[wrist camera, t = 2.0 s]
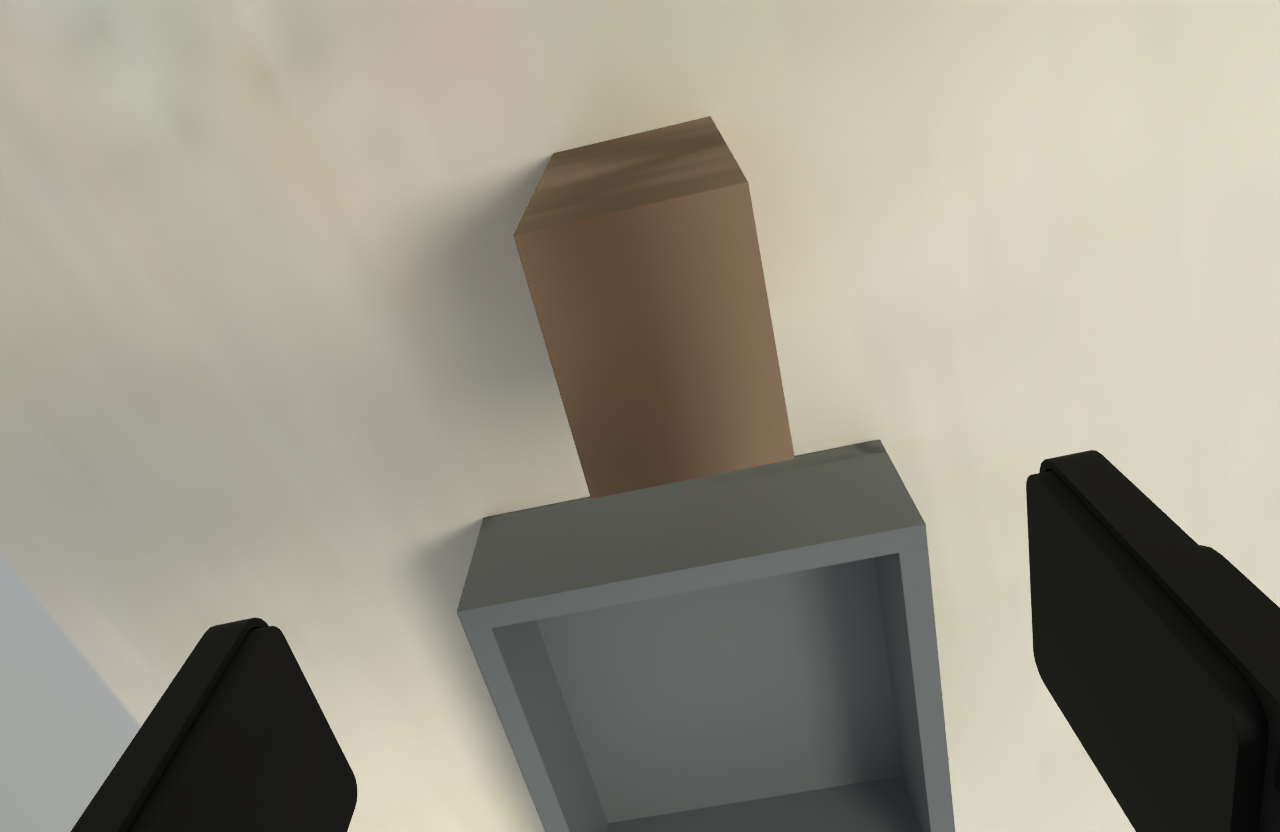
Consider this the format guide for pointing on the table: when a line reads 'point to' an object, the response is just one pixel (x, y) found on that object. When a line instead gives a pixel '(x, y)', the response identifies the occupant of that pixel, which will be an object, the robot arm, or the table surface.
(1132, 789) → the robot arm
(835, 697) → the bin
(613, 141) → the walnut block
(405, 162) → the table surface
